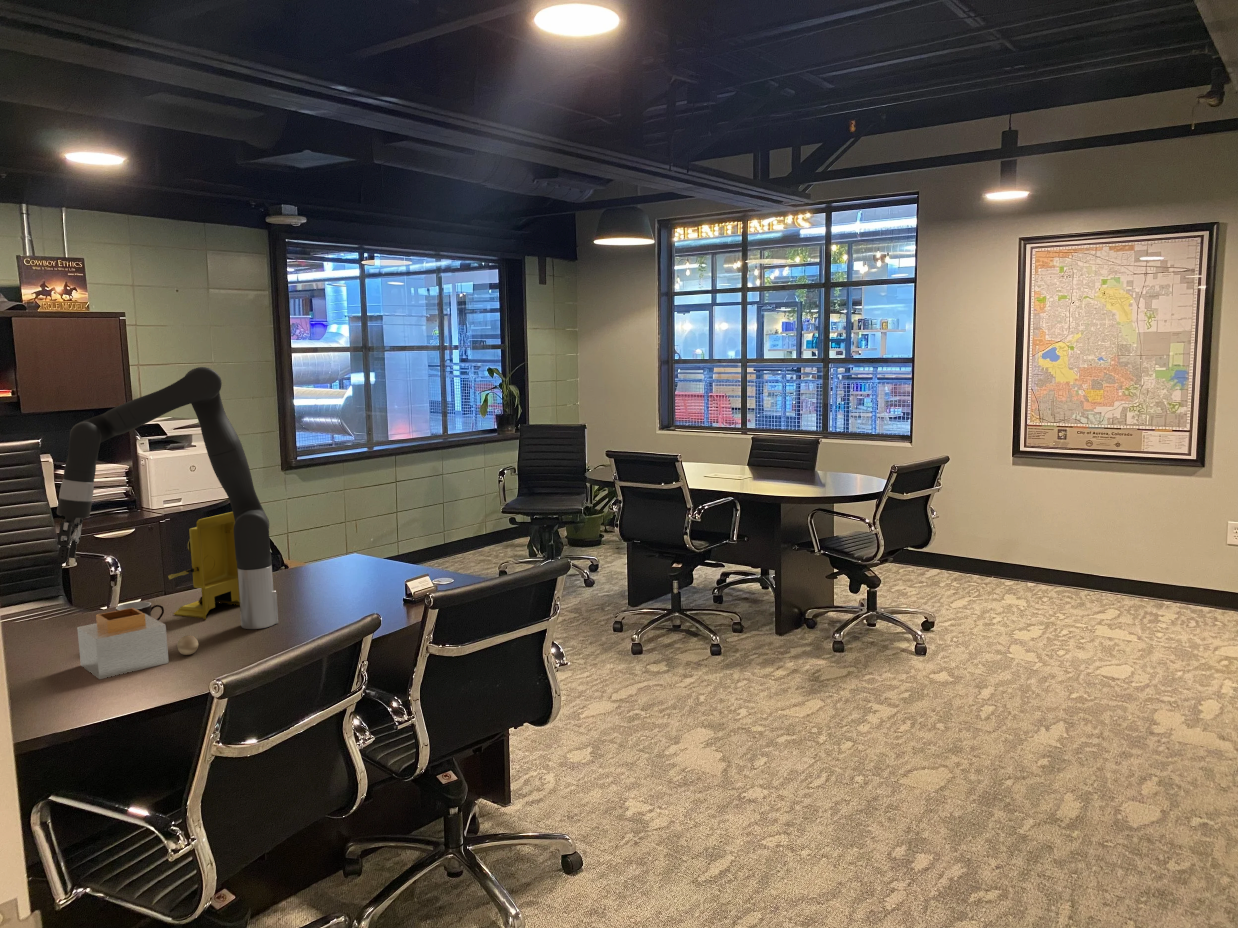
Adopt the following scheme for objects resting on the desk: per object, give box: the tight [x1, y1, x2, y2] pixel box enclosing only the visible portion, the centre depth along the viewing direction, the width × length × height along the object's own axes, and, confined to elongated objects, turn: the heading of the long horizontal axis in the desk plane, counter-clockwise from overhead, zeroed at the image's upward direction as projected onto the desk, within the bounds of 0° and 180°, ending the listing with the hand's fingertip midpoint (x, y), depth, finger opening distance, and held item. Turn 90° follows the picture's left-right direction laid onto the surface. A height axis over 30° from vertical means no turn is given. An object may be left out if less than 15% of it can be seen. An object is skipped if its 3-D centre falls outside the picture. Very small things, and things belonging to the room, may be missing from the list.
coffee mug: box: [115, 601, 165, 621], centre depth 253 cm, size 12×9×10 cm
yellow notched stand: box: [168, 511, 240, 621], centre depth 282 cm, size 31×14×30 cm, turn 160°
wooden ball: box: [176, 635, 199, 656], centre depth 241 cm, size 5×5×5 cm
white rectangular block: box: [76, 608, 169, 680], centre depth 234 cm, size 16×15×13 cm
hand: (66, 559), depth 240 cm, fingers open, 8 cm apart
